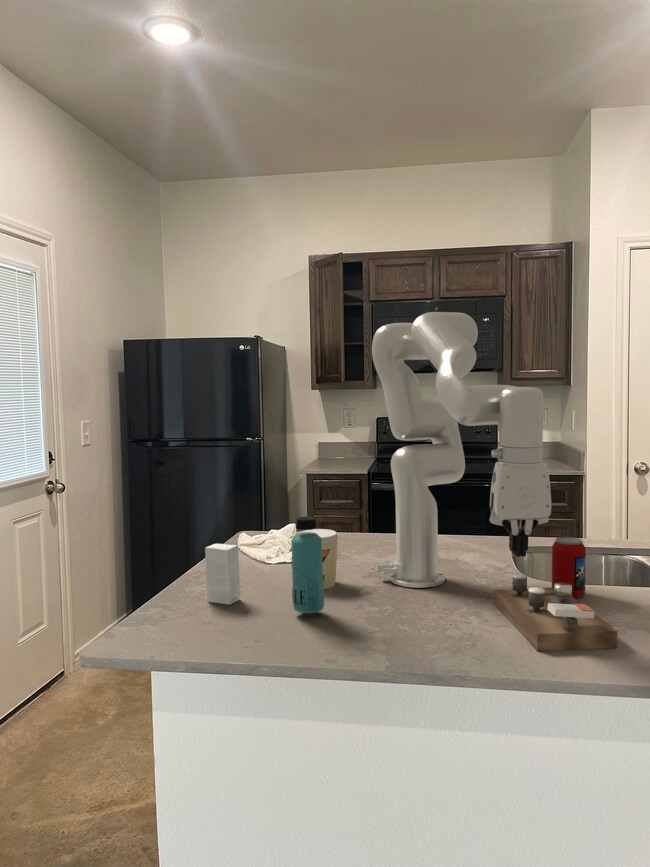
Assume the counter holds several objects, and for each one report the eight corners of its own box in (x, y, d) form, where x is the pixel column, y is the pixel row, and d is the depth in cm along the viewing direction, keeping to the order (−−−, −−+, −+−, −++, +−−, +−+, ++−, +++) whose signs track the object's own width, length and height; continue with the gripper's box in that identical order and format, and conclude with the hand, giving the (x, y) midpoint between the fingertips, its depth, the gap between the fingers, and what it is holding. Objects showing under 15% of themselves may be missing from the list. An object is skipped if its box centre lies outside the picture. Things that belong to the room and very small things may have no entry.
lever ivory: (531, 611, 123) (531, 592, 123) (526, 606, 126) (526, 587, 126) (547, 611, 123) (547, 591, 123) (541, 606, 126) (541, 587, 126)
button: (558, 598, 128) (558, 587, 127) (551, 592, 131) (551, 582, 131) (574, 597, 128) (574, 587, 128) (567, 592, 131) (567, 582, 131)
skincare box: (240, 599, 144) (239, 545, 143) (230, 605, 140) (228, 549, 139) (217, 596, 147) (215, 542, 146) (206, 602, 143) (204, 547, 142)
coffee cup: (291, 588, 151) (290, 536, 150) (308, 576, 160) (307, 527, 159) (330, 592, 147) (328, 539, 146) (344, 580, 156) (343, 530, 155)
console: (537, 651, 114) (537, 624, 113) (493, 604, 138) (493, 581, 137) (617, 647, 114) (617, 620, 114) (560, 601, 138) (560, 578, 138)
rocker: (554, 616, 115) (555, 608, 115) (547, 609, 118) (548, 601, 118) (593, 618, 115) (594, 610, 115) (585, 612, 118) (586, 604, 118)
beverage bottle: (329, 611, 135) (327, 514, 134) (318, 622, 129) (316, 521, 128) (299, 608, 138) (297, 513, 136) (287, 619, 131) (284, 519, 130)
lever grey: (515, 596, 132) (515, 578, 132) (510, 591, 135) (510, 573, 135) (529, 595, 132) (529, 577, 132) (524, 591, 135) (524, 573, 135)
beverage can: (587, 600, 138) (588, 544, 138) (554, 599, 140) (554, 543, 139) (582, 590, 145) (582, 536, 144) (549, 589, 146) (550, 535, 145)
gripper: (486, 459, 116) (485, 562, 118) (569, 457, 117) (566, 559, 119) (473, 453, 123) (472, 550, 125) (551, 452, 124) (549, 547, 126)
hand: (518, 554), depth 122 cm, fingers closed
